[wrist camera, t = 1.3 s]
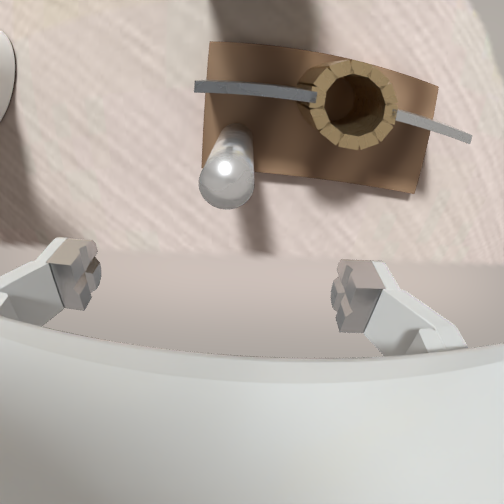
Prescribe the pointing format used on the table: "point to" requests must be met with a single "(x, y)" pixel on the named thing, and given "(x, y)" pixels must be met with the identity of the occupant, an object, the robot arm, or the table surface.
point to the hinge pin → (229, 169)
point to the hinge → (357, 120)
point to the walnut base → (300, 131)
